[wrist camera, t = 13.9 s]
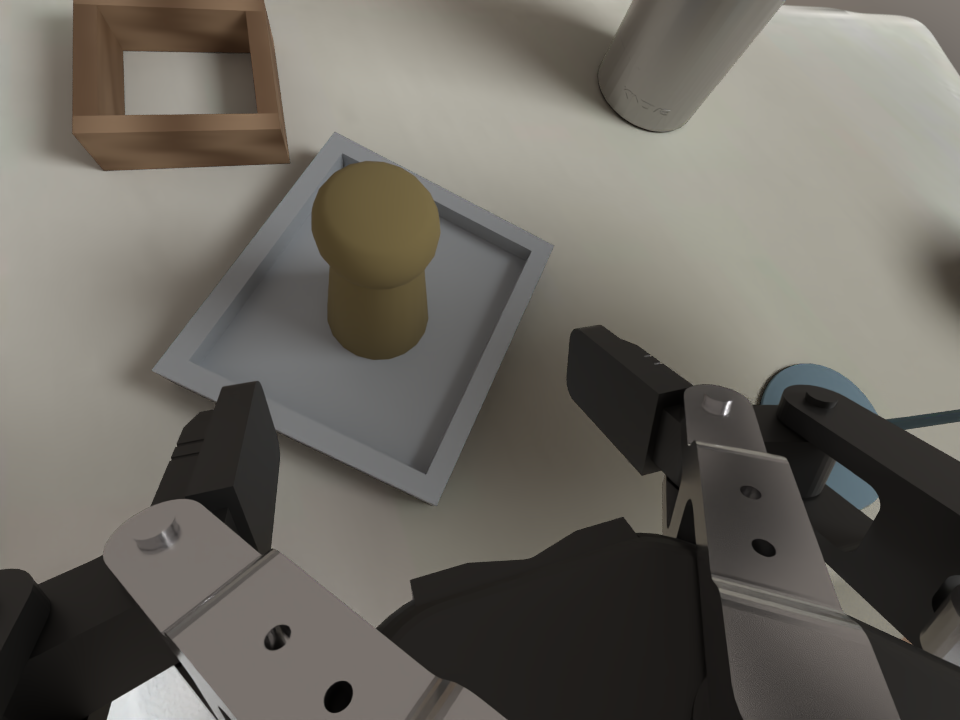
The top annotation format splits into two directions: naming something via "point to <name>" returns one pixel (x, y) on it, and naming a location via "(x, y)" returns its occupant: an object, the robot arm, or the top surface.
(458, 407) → the grey tray
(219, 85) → the top surface
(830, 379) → the cocktail glass
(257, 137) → the walnut holder
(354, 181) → the cork
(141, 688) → the ramekin
